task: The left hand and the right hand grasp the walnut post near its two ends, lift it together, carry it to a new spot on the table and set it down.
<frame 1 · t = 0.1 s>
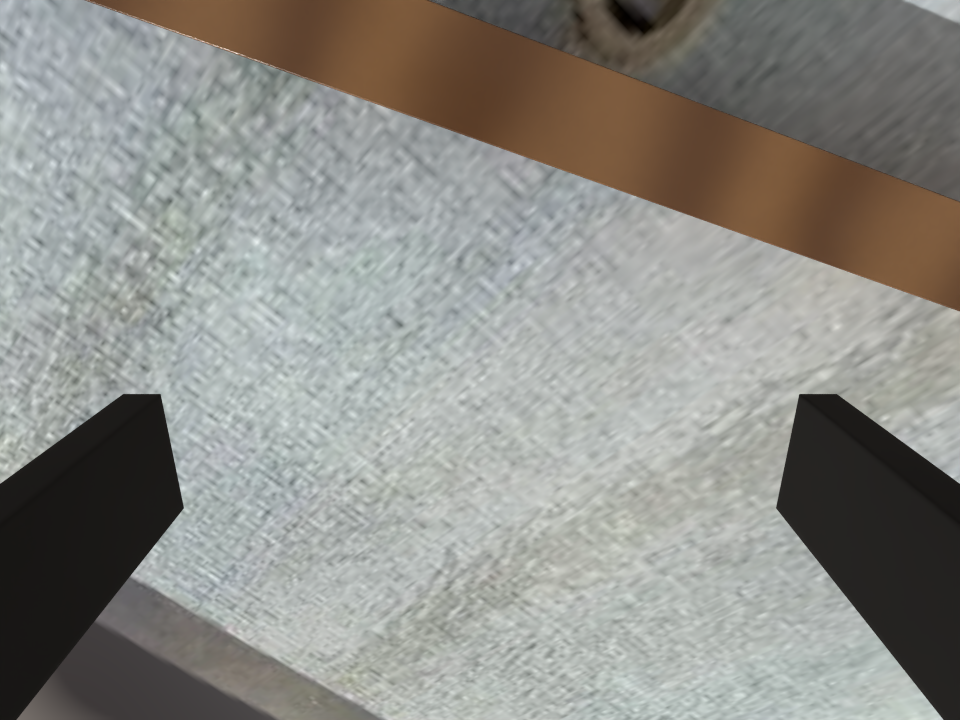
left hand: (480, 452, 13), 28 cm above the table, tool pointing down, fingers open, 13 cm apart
post: (645, 152, 37), on the table
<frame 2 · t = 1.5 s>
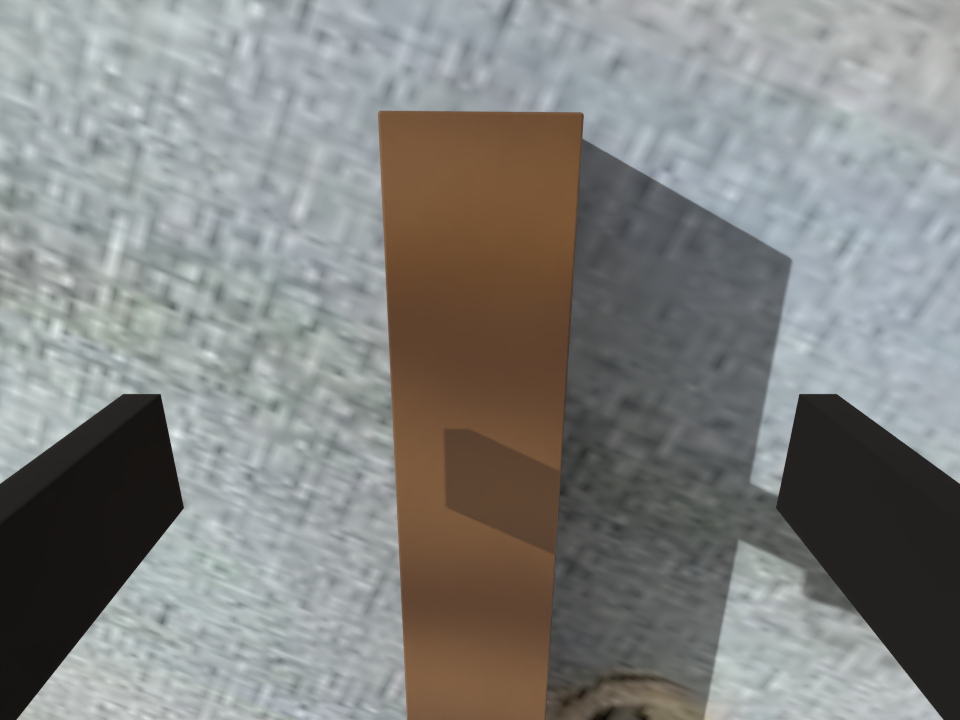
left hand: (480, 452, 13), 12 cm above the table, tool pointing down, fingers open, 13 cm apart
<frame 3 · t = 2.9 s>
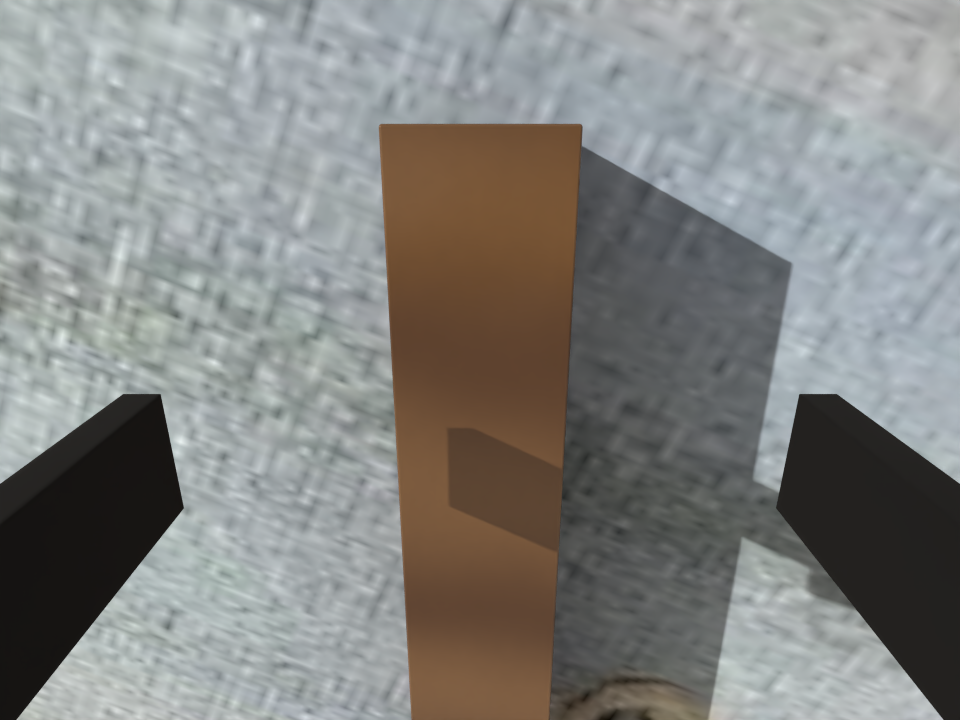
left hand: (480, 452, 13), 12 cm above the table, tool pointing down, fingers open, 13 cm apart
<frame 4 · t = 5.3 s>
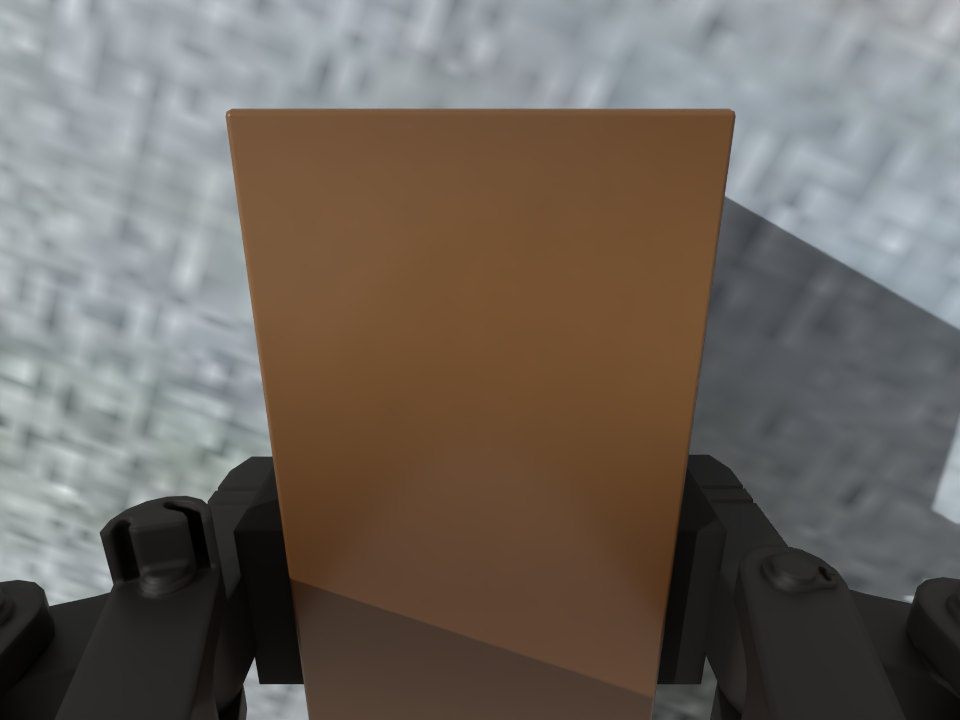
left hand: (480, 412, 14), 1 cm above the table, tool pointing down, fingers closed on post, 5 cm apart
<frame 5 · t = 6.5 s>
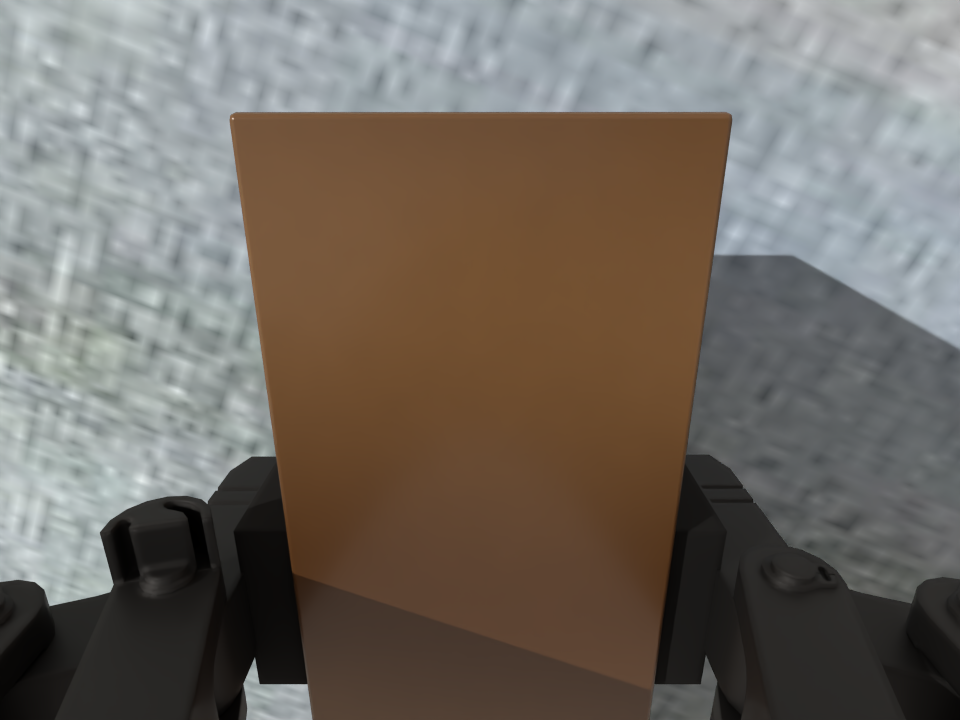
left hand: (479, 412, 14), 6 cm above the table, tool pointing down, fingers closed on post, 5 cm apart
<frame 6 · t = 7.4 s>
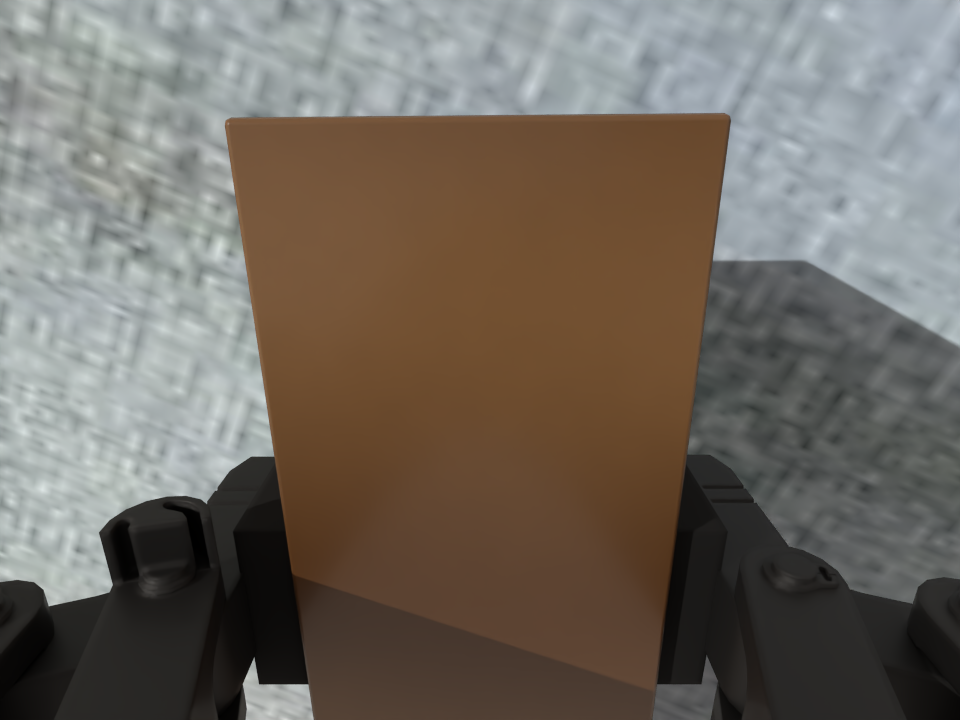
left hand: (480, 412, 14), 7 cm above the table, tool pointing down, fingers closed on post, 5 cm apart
when the left hand's fingers open (2 cm above the table, at t = 9.8 s): post drops 1 cm, on the table.
when the right hand's fingers open (3 cm above the table, at t = 9.9 s): post drops 1 cm, on the table.
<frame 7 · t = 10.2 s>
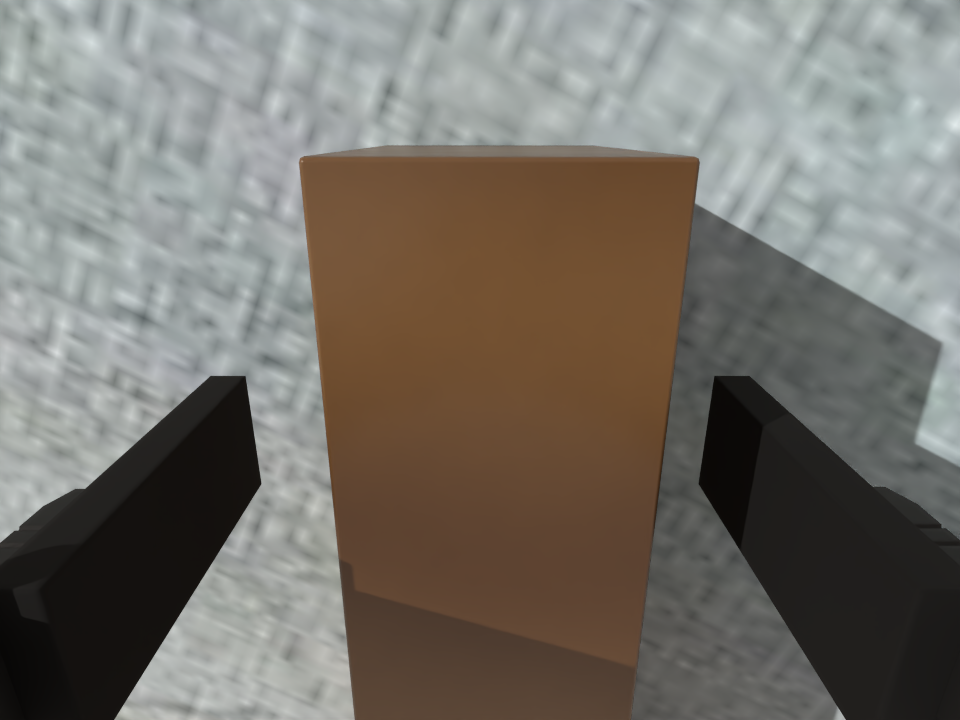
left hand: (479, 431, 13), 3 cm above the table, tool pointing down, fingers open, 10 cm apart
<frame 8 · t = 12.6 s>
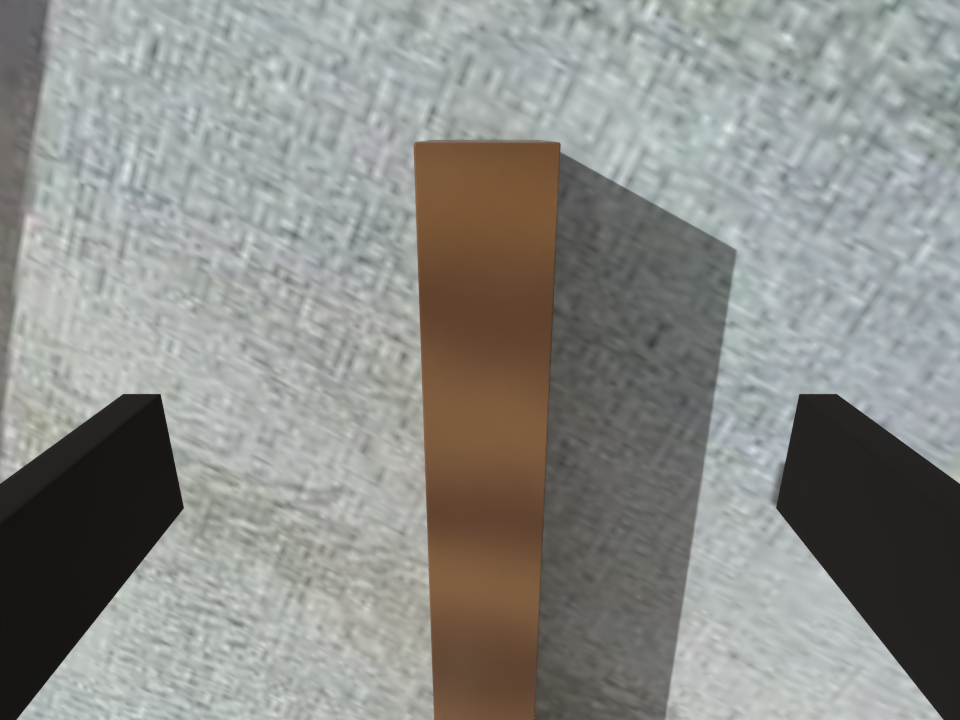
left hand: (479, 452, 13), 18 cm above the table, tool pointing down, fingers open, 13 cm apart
post: (483, 697, 39), on the table
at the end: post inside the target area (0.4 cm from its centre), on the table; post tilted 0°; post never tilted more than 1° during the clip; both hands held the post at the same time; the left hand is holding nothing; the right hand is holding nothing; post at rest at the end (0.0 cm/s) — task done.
